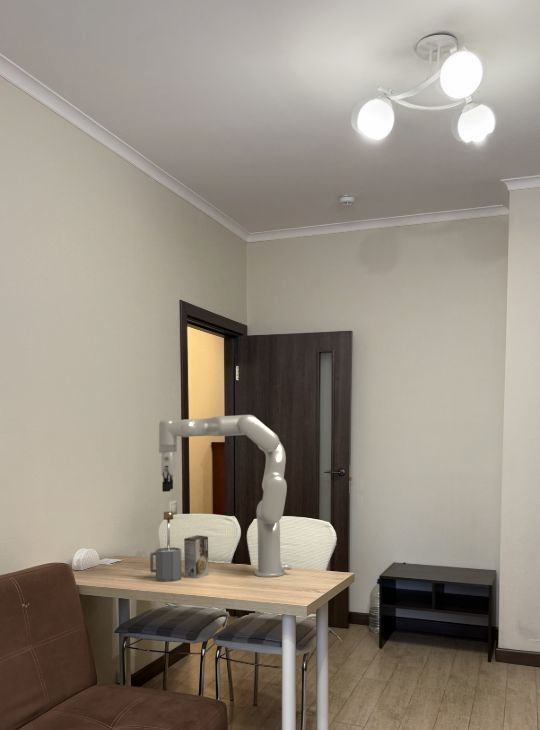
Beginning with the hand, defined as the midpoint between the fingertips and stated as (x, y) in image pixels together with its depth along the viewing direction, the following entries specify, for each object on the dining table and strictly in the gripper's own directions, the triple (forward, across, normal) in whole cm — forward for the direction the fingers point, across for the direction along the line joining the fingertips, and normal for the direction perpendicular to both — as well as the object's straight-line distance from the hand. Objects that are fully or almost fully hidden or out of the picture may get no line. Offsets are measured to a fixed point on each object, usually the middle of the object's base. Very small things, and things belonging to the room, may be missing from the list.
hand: (167, 490), depth 291 cm
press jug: (+36, 0, +1) cm, 36 cm away
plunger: (+25, 0, -1) cm, 25 cm away
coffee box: (+36, +5, -12) cm, 39 cm away
